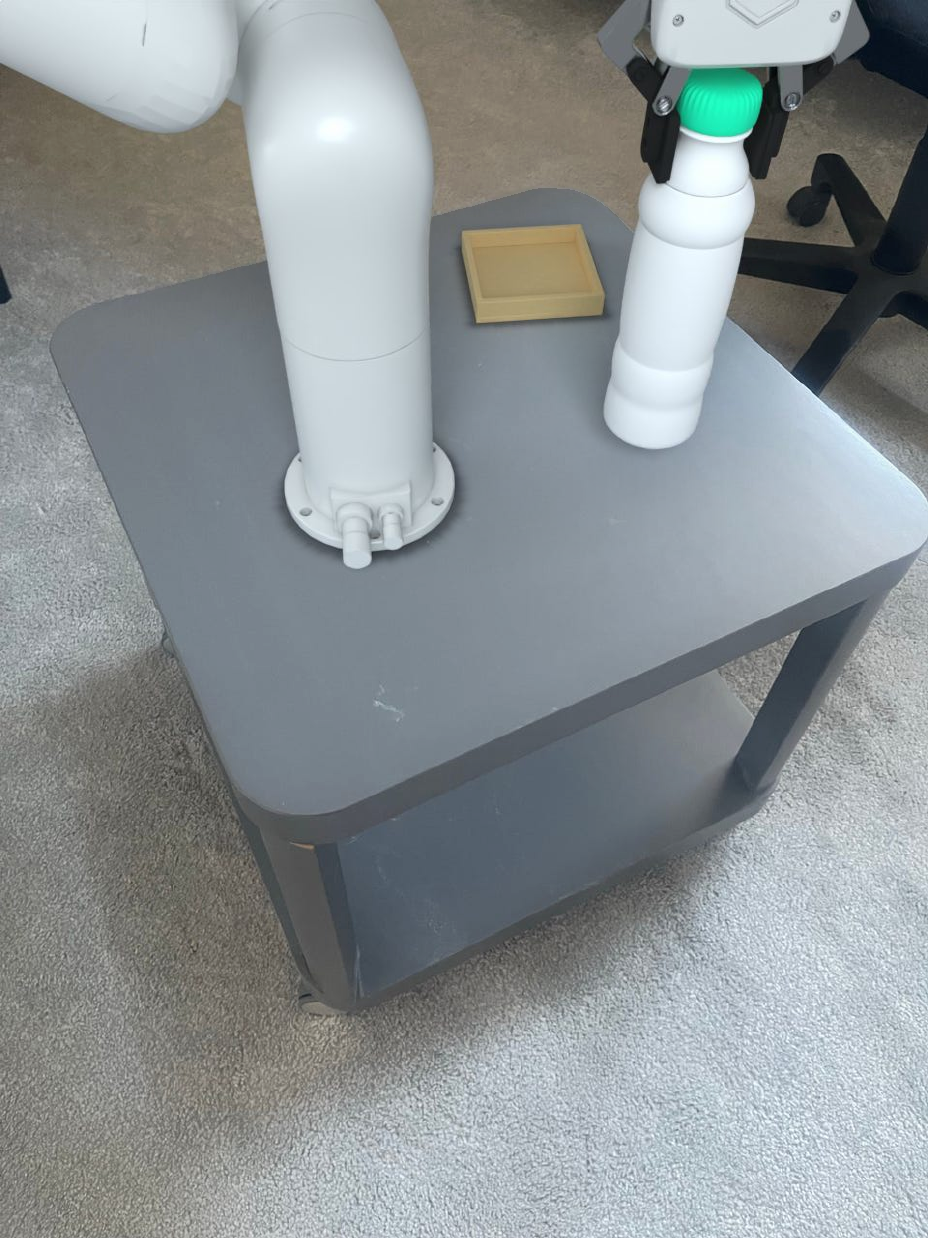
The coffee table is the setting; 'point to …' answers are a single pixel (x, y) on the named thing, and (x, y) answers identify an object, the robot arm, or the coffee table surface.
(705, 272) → the water bottle
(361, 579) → the coffee table surface
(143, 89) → the robot arm
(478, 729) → the coffee table surface
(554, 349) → the coffee table surface
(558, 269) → the tray
